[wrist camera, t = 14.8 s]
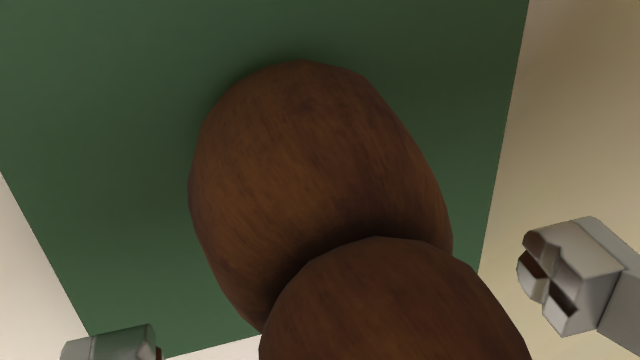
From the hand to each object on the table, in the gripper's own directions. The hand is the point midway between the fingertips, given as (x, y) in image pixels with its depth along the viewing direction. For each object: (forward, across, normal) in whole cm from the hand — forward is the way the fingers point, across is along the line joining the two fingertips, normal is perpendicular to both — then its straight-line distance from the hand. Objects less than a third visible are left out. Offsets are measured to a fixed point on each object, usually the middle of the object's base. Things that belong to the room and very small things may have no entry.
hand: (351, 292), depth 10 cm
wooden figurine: (+7, 0, 0) cm, 7 cm away
